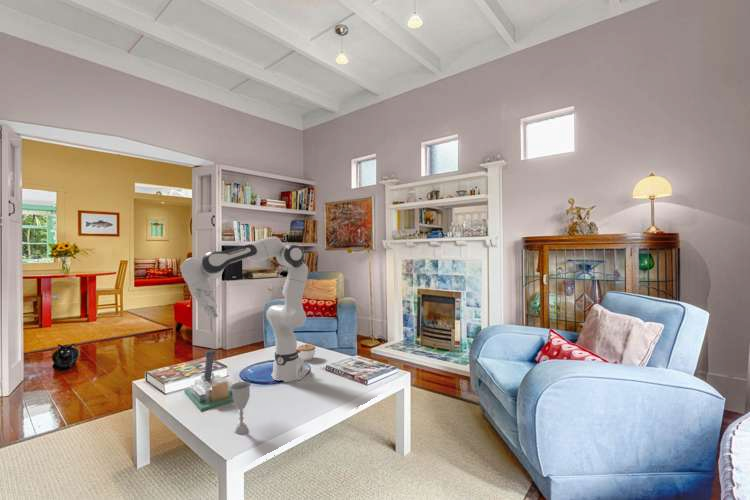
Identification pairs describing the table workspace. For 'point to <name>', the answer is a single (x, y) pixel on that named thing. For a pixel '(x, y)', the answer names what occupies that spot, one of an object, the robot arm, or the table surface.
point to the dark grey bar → (209, 363)
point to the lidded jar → (307, 352)
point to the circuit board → (207, 405)
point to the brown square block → (219, 391)
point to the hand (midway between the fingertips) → (213, 316)
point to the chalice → (241, 402)
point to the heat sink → (207, 387)
